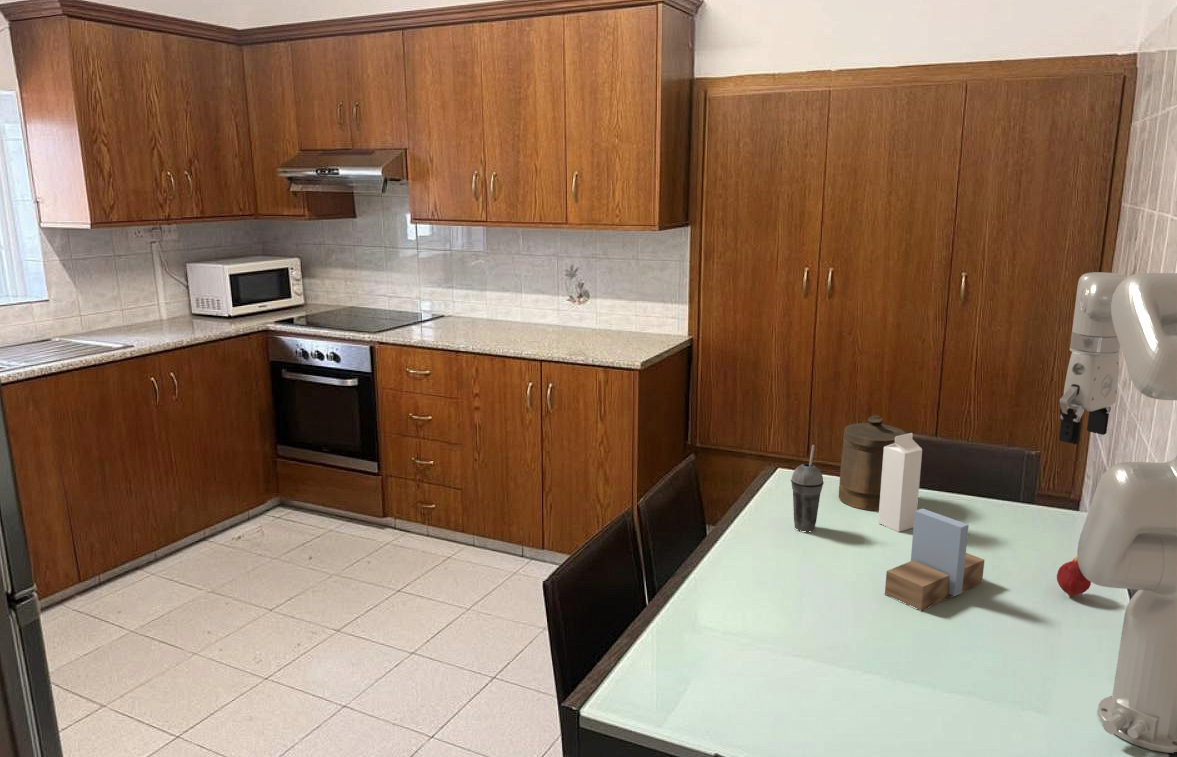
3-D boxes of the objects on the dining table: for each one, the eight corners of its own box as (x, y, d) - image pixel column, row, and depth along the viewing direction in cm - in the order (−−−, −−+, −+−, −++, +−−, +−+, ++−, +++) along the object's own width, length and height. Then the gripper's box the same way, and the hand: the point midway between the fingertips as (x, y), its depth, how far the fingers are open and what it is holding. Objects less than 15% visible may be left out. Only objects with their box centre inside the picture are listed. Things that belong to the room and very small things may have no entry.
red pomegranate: (1093, 604, 162) (1098, 565, 160) (1060, 601, 163) (1065, 563, 161) (1082, 590, 168) (1087, 552, 166) (1050, 587, 169) (1055, 550, 167)
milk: (877, 523, 200) (883, 433, 195) (895, 518, 203) (901, 429, 198) (899, 532, 195) (905, 440, 190) (916, 526, 198) (923, 435, 193)
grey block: (954, 596, 163) (961, 527, 160) (909, 576, 172) (914, 510, 168) (961, 592, 165) (968, 524, 162) (916, 573, 173) (922, 508, 170)
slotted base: (920, 611, 160) (923, 586, 159) (884, 594, 166) (886, 570, 165) (982, 582, 171) (984, 559, 170) (945, 568, 177) (948, 545, 176)
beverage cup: (781, 525, 200) (786, 443, 195) (807, 520, 202) (811, 439, 198) (802, 537, 193) (806, 452, 188) (827, 531, 196) (832, 448, 191)
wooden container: (913, 506, 211) (920, 420, 206) (864, 514, 206) (870, 427, 201) (873, 486, 224) (879, 405, 219) (826, 494, 219) (831, 411, 214)
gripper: (1092, 353, 142) (1079, 451, 146) (1141, 341, 151) (1128, 434, 155) (1047, 346, 148) (1036, 440, 152) (1097, 335, 157) (1085, 424, 161)
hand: (1082, 437), depth 154 cm, fingers open, 9 cm apart
